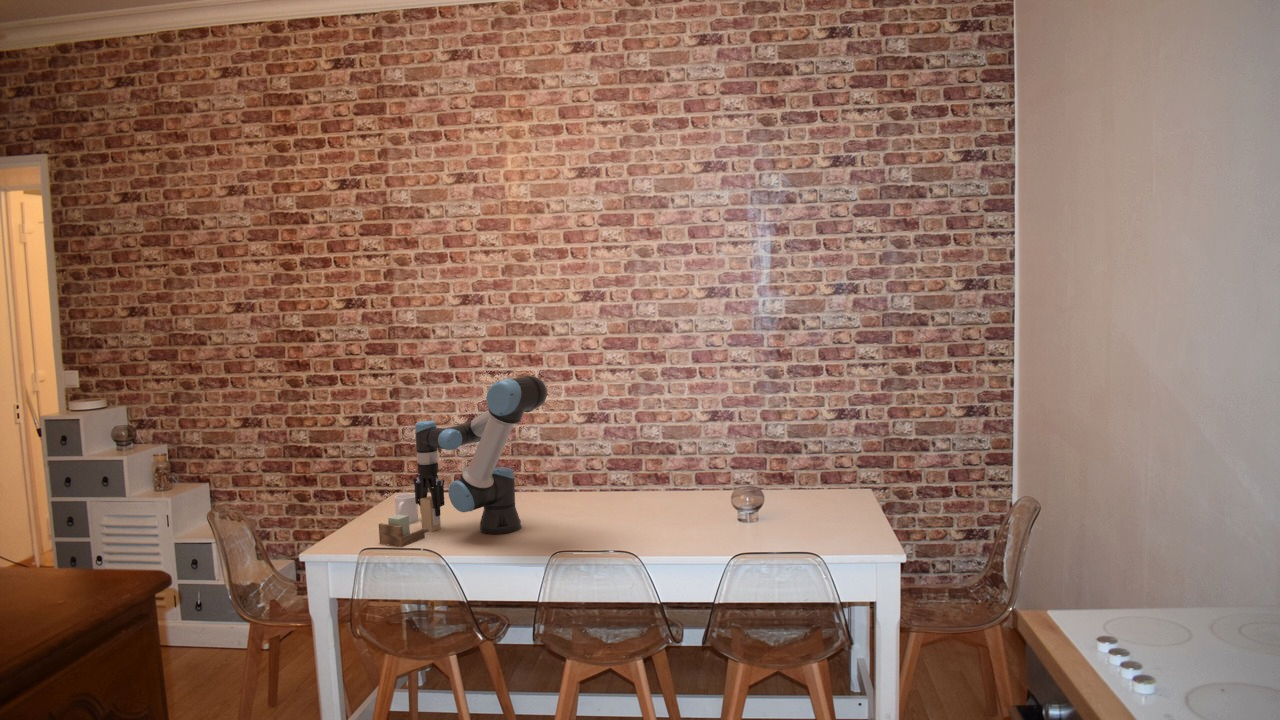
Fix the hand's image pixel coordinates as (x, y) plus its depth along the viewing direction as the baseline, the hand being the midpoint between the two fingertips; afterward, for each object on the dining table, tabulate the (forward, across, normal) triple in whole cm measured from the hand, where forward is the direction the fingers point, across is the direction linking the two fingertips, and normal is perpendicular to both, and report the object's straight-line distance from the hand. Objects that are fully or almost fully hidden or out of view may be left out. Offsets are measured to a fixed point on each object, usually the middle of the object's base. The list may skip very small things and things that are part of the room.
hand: (431, 523), depth 310 cm
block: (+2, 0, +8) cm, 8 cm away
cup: (+2, +16, -3) cm, 16 cm away
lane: (+2, 0, +15) cm, 15 cm away
